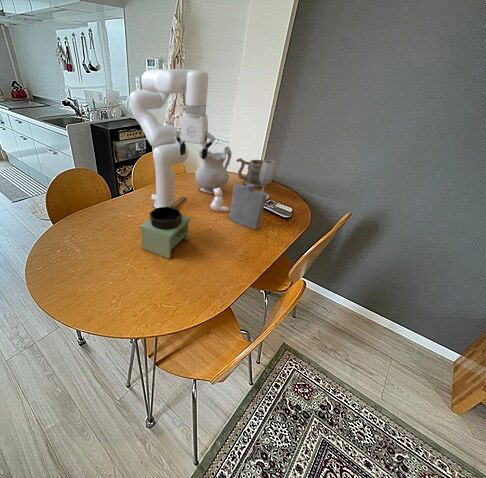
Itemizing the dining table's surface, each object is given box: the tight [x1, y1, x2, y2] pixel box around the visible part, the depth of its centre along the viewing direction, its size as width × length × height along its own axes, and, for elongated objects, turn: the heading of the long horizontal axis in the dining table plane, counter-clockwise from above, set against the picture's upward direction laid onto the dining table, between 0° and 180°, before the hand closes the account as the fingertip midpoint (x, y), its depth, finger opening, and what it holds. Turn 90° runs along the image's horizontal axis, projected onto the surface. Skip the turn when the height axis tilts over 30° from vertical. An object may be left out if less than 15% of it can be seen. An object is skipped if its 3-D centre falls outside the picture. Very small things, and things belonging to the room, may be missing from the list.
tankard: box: [235, 157, 264, 189], centre depth 163 cm, size 20×13×15 cm, turn 66°
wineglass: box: [259, 159, 276, 201], centre depth 143 cm, size 9×9×21 cm
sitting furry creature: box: [210, 188, 230, 213], centre depth 133 cm, size 10×9×12 cm
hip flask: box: [228, 183, 268, 231], centre depth 119 cm, size 16×4×20 cm, turn 47°
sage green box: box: [139, 215, 191, 259], centre depth 107 cm, size 14×16×11 cm
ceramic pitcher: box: [195, 146, 232, 195], centre depth 151 cm, size 22×20×25 cm
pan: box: [149, 196, 188, 230], centre depth 106 cm, size 12×22×5 cm, turn 150°
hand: (193, 156), depth 105 cm, fingers open, 9 cm apart
